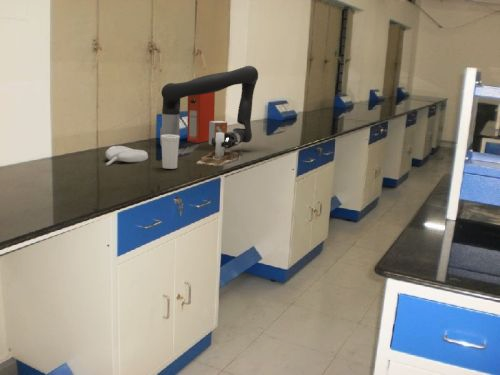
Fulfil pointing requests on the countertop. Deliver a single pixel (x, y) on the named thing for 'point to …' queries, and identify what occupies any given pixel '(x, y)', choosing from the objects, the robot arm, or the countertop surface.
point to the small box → (216, 129)
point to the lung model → (125, 154)
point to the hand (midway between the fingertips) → (217, 144)
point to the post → (219, 145)
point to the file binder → (200, 116)
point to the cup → (170, 151)
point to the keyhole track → (222, 161)
